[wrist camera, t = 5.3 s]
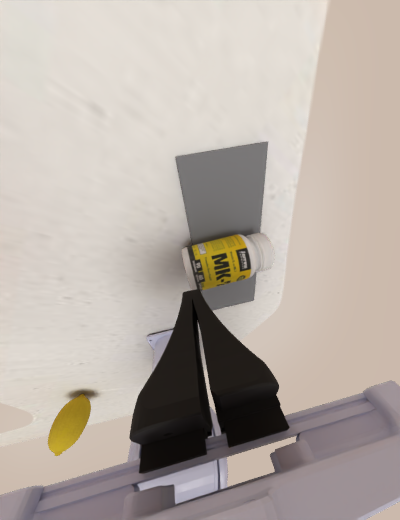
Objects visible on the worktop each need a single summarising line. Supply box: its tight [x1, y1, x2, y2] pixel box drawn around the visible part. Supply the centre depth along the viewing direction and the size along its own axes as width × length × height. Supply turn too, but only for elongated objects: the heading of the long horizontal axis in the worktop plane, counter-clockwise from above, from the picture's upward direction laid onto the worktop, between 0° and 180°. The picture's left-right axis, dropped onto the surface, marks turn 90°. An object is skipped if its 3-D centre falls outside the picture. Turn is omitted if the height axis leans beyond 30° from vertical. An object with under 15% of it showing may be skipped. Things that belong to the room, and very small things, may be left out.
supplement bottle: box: [182, 233, 275, 291], centre depth 15 cm, size 5×5×8 cm
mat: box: [176, 142, 268, 310], centre depth 17 cm, size 20×8×1 cm, turn 8°
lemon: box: [48, 394, 91, 456], centre depth 27 cm, size 6×6×8 cm
